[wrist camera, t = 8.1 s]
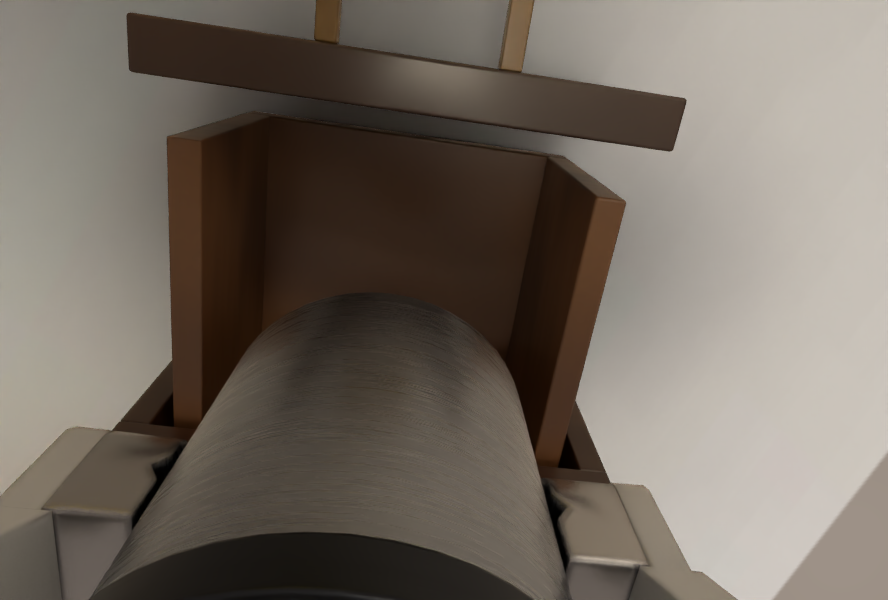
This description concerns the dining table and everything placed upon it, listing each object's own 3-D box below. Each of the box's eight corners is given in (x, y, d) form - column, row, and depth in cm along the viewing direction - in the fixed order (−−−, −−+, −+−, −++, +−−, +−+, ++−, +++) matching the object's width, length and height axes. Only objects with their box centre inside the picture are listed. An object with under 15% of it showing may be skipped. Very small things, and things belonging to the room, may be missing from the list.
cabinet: (222, 299, 24) (104, 437, 16) (549, 339, 26) (614, 490, 17) (219, 586, 30) (132, 807, 21) (487, 609, 31) (510, 830, 22)
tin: (221, 264, 9) (-78, 559, 4) (556, 306, 10) (719, 629, 4) (219, 532, 11) (19, 981, 6) (498, 558, 11) (558, 1003, 6)
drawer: (237, -129, 18) (113, -250, 11) (631, -60, 19) (752, -131, 12) (229, 403, 25) (149, 542, 18) (519, 435, 26) (554, 579, 19)
